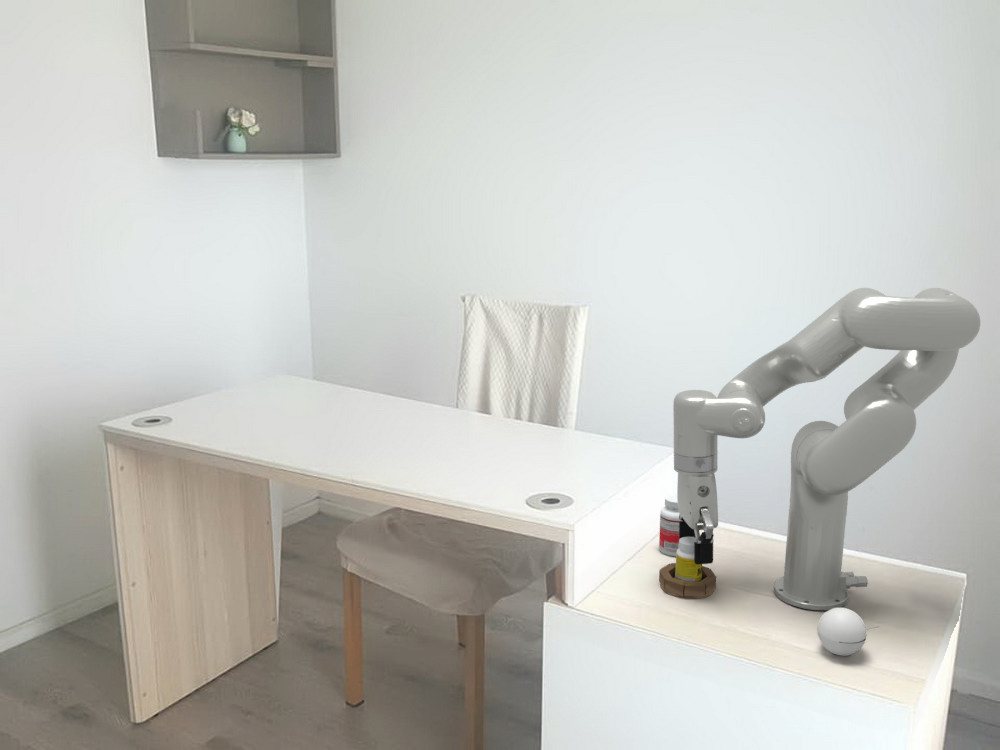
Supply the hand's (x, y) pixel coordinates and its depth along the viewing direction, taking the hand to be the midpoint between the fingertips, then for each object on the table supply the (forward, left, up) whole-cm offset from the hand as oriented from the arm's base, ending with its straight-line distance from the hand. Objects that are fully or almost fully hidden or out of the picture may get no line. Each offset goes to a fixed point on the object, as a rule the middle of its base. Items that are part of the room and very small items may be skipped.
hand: (695, 552), depth 176 cm
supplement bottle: (+1, 0, -6) cm, 7 cm away
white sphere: (-18, +25, -7) cm, 31 cm away
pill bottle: (-1, -16, -7) cm, 18 cm away
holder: (+1, 0, -7) cm, 7 cm away
